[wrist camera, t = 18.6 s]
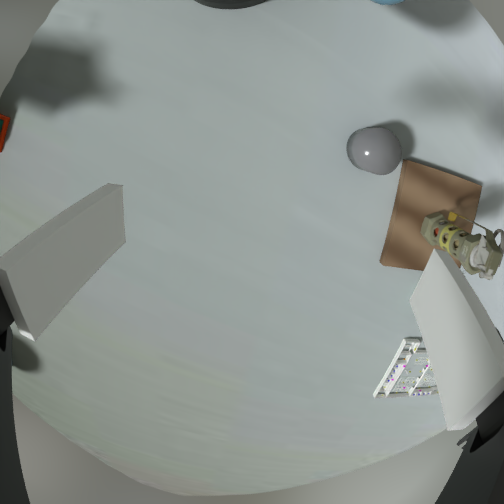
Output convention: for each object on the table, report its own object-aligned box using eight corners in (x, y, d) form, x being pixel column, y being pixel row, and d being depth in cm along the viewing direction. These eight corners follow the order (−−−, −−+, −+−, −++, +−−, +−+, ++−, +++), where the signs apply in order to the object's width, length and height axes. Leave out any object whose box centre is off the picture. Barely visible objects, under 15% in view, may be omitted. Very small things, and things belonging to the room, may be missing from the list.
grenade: (414, 239, 40) (471, 283, 26) (426, 197, 38) (491, 226, 24) (447, 247, 41) (503, 289, 27) (459, 209, 38) (522, 240, 24)
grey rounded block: (349, 124, 36) (362, 122, 31) (388, 134, 36) (404, 134, 32) (343, 165, 38) (354, 169, 34) (381, 174, 38) (397, 179, 34)
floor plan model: (402, 336, 49) (406, 342, 47) (481, 339, 51) (485, 343, 49) (372, 392, 55) (374, 398, 53) (451, 387, 56) (454, 392, 54)
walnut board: (403, 159, 37) (407, 160, 36) (476, 184, 38) (482, 186, 37) (379, 261, 43) (383, 265, 42) (452, 271, 44) (457, 275, 42)
